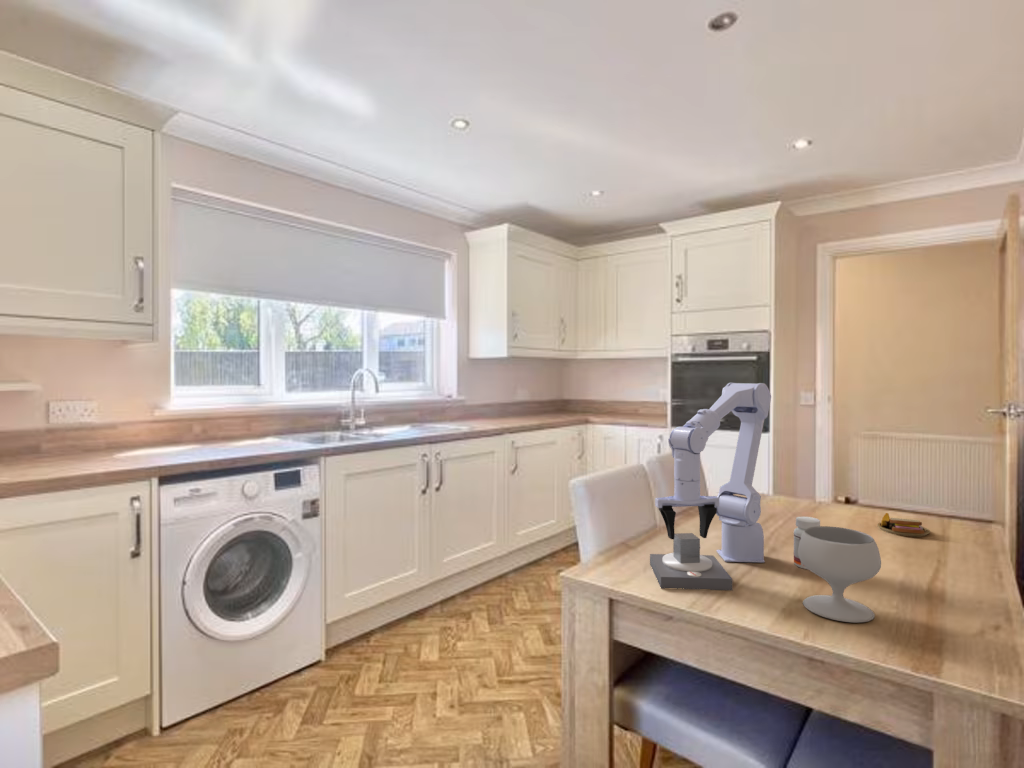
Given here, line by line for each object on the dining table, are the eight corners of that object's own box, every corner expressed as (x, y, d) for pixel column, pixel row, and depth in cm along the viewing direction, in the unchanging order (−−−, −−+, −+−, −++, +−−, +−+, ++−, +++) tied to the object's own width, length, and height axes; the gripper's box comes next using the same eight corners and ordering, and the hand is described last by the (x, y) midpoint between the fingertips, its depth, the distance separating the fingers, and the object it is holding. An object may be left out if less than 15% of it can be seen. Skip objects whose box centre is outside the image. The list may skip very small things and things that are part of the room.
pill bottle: (827, 567, 132) (828, 520, 131) (813, 572, 128) (814, 524, 128) (802, 559, 137) (802, 514, 137) (788, 564, 133) (788, 518, 133)
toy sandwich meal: (931, 530, 161) (931, 514, 161) (928, 541, 151) (928, 524, 151) (880, 523, 170) (880, 508, 169) (873, 533, 159) (874, 517, 159)
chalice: (785, 595, 115) (785, 524, 115) (853, 596, 115) (853, 524, 115) (820, 626, 101) (820, 545, 101) (898, 627, 101) (898, 546, 101)
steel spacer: (692, 556, 130) (692, 533, 130) (699, 562, 126) (699, 538, 126) (673, 556, 130) (673, 533, 130) (680, 563, 126) (680, 539, 125)
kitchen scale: (713, 565, 133) (713, 552, 133) (732, 590, 118) (732, 575, 118) (649, 564, 134) (649, 550, 134) (660, 588, 120) (660, 573, 119)
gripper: (709, 474, 132) (709, 531, 132) (650, 476, 131) (650, 533, 131) (723, 480, 125) (723, 540, 125) (661, 482, 124) (661, 542, 124)
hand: (687, 537), depth 128 cm, fingers open, 7 cm apart
